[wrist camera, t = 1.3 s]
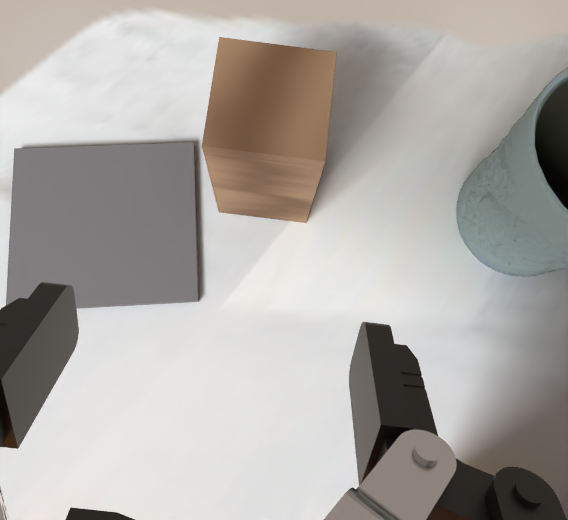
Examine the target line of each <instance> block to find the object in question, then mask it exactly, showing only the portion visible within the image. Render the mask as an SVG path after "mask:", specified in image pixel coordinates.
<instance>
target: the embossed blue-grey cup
mask: <svg viewBox="0 0 568 520" xmlns="http://www.w3.org/2000/svg"><path fill="white" fill-rule="evenodd" d="M457 223H458V227H459V231H460V234H461V236H462V238H463V240H464V242H465V244H466V245H467V247H468V248H469V250H470V251H471V252H472V253H473V254H474V255H475V256H476V257H477V258H478V259H479V260H480V261H481V262H482V263H484V264H485V265H486V266H488V267H490V268H492V269H494V270H495V271H498V272H501V273H504V274H508V275H513V276H534V275H540V274H543V273H547V272H550V271H555V270H560V269H566V268H568V67H567V68H566V69H564V70H563V71H562V72H560V73H559V74H558V75H557V76H556V77H555V78H554V79H553V80H552V81H551V82H550V83H549V84H548V85H547V86H546V87H545V88H544V89H543V91H542V92H541V93H540V94H539V96H538V97H537V98H536V99H535V101H534V102H533V103H532V104H531V106H530V107H529V108H528V110H527V111H526V112H525V114H524V115H523V117H522V118H520V119H519V120H518V122H517V123H516V124H515V125H514V126H513V127H512V129H511V130H510V132H509V135H508V136H506V137H505V138H504V139H503V140H502V141H501V144H500V146H499V147H498V148H497V149H496V150H495V151H493V152H492V153H491V155H490V156H489V157H487V158H486V159H484V160H483V161H482V162H481V163H480V164H479V166H478V167H477V168H476V169H475V170H474V171H473V173H472V174H471V175H470V176H469V177H468V179H467V180H466V181H465V183H464V185H463V187H462V189H461V191H460V194H459V197H458V202H457Z"/></svg>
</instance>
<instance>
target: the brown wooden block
mask: <svg viewBox="0 0 568 520" xmlns="http://www.w3.org/2000/svg"><path fill="white" fill-rule="evenodd" d="M336 53H337V52H330V51H323V50H315V49H307V48H300V47H292V46H284V45H277V44H269V43H261V42H253V41H246V40H238V39H230V38H223V37H219V42H218V49H217V55H216V61H215V67H214V74H213V80H212V86H211V92H210V99H209V105H208V111H207V117H206V124H205V130H204V136H203V143H202V148H203V152H204V156H205V160H206V164H207V168H208V172H209V176H210V179H211V183H212V187H213V191H214V195H215V199H216V203H217V207H218V211H219V212H222V213H230V214H238V215H247V216H255V217H263V218H271V219H279V220H288V221H296V222H304V223H306V221H307V218H308V215H309V212H310V209H311V206H312V203H313V199H314V196H315V193H316V190H317V187H318V184H319V180H320V177H321V174H322V171H323V168H324V165H325V161H326V152H327V142H328V132H329V122H330V112H331V102H332V92H333V82H334V72H335V63H336Z"/></svg>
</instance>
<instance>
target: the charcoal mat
mask: <svg viewBox="0 0 568 520" xmlns="http://www.w3.org/2000/svg"><path fill="white" fill-rule="evenodd" d="M41 282H49V283H57V284H65V285H71V286H72V287H73V289H74V295H75V303H76V308H93V307H111V306H129V305H147V304H165V303H183V302H199V291H198V254H197V217H196V180H195V146H194V142H181V143H154V144H127V145H99V146H72V147H45V148H18V149H14V166H13V184H12V203H11V221H10V240H9V259H8V277H7V296H6V305H8V304H10V303H11V302H13V301H15V300H16V299H18V298H26V299H28V298H29V296H30V295H31V294H32V293H33V291H34V290H35V289H36V288H37V286H38V285H39V284H40V283H41Z"/></svg>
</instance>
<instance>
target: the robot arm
mask: <svg viewBox="0 0 568 520" xmlns="http://www.w3.org/2000/svg"><path fill="white" fill-rule="evenodd" d="M78 333H79V328H78V319H77V311H76V303H75V295H74V289H73V287H72V286H71V285H65V284H57V283H49V282H41V283H40V284H39V285H38V286H37V288H36V289H35V290H34V291H33V293H32V294H31V295H30V296H29V298H28V299H26V298H18V299H16V300H15V301H13V302H11V303H10V304H8V305H6V306H5V307H3V308H2V309H1V310H0V447H8V448H17V449H18V448H19V446H20V444H21V443H22V441H23V439H24V437H25V436H26V434H27V432H28V430H29V429H30V427H31V425H32V423H33V422H34V420H35V418H36V416H37V414H38V413H39V411H40V409H41V407H42V406H43V404H44V402H45V400H46V399H47V397H48V395H49V393H50V392H51V390H52V388H53V386H54V385H55V383H56V381H57V379H58V378H59V376H60V374H61V372H62V371H63V369H64V367H65V365H66V364H67V362H68V360H69V358H70V357H71V355H72V353H73V351H74V349H75V347H76V344H77V340H78ZM421 375H422V374H421V371H420V367H419V363H418V360H417V358H416V357H415V356H414V354H413V353H412V352H411V351H410V349H409V348H408V347H407V345H398V344H394V340H393V336H392V331H391V327H390V326H389V325H385V324H377V323H369V322H362V324H361V327H360V330H359V334H358V338H357V341H356V345H355V349H354V353H353V356H352V360H351V365H350V373H349V387H350V397H351V407H352V417H353V427H354V438H355V448H356V458H357V468H358V478H359V487H358V488H357V489H354V488H351V489H349V490H348V491H347V492H346V493H345V494H344V496H343V497H342V498H341V499H340V501H339V502H338V503H337V504H336V505H335V507H334V508H333V509H332V510H331V512H330V513H329V514H328V515H327V516H326V518H325V519H324V520H566V517H565V515H564V512H563V510H562V507H561V504H560V502H559V500H558V497H557V495H556V494H555V492H554V491H553V489H552V488H551V487H550V486H549V485H548V484H547V483H546V482H545V481H544V480H543V479H541V478H540V477H539V476H537V475H536V474H534V473H532V472H530V471H528V470H525V469H523V468H518V467H506V468H503V469H501V470H500V471H499V472H498V473H497V474H496V476H493V475H490V474H488V473H485V472H483V471H480V470H478V469H475V468H473V467H470V466H468V465H466V464H464V463H462V462H461V461H459V460H458V459H456V458H455V455H454V453H453V451H452V449H451V448H450V447H449V445H448V444H447V443H446V442H445V441H444V440H442V439H441V438H440V437H438V434H437V430H436V427H435V423H434V419H433V415H432V412H431V408H430V404H429V400H428V397H427V393H426V390H425V386H424V382H423V378H422V377H421ZM0 520H9V518H8V514H7V510H6V506H5V502H4V499H3V495H2V491H1V487H0ZM66 520H134V519H132V518H129V517H127V516H124V515H122V514H119V513H116V512H107V511H97V510H88V509H79V508H70V510H69V513H68V515H67V518H66Z"/></svg>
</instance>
